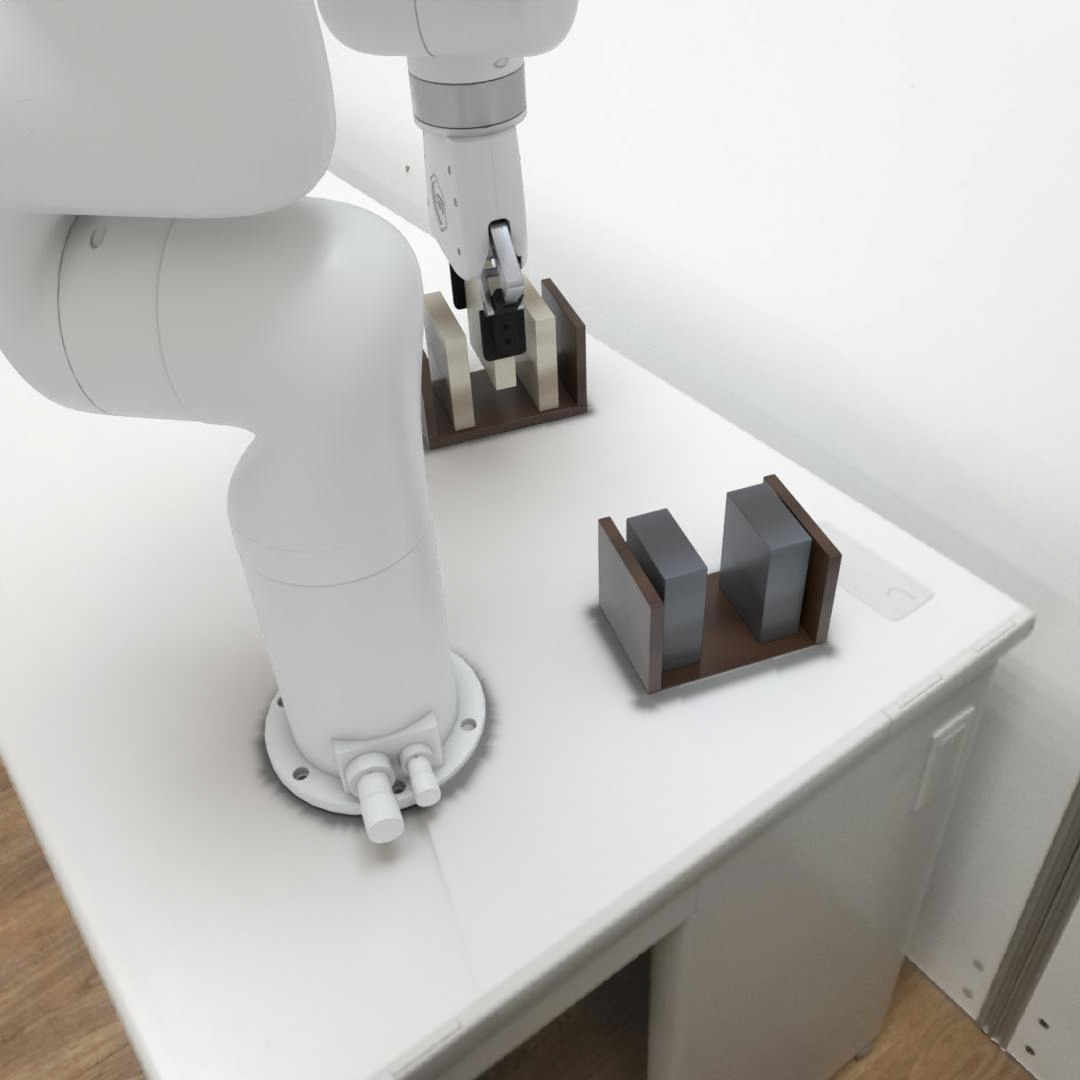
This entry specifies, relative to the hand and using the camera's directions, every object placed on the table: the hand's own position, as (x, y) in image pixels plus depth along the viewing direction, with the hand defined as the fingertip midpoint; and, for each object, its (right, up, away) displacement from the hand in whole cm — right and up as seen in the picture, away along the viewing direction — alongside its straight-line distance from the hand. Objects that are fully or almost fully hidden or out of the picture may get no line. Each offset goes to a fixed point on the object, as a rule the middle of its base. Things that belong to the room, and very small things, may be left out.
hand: (488, 328), depth 84 cm
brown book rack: (0, -5, +4) cm, 7 cm away
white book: (0, -2, +2) cm, 3 cm away
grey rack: (+14, -22, -16) cm, 30 cm away
